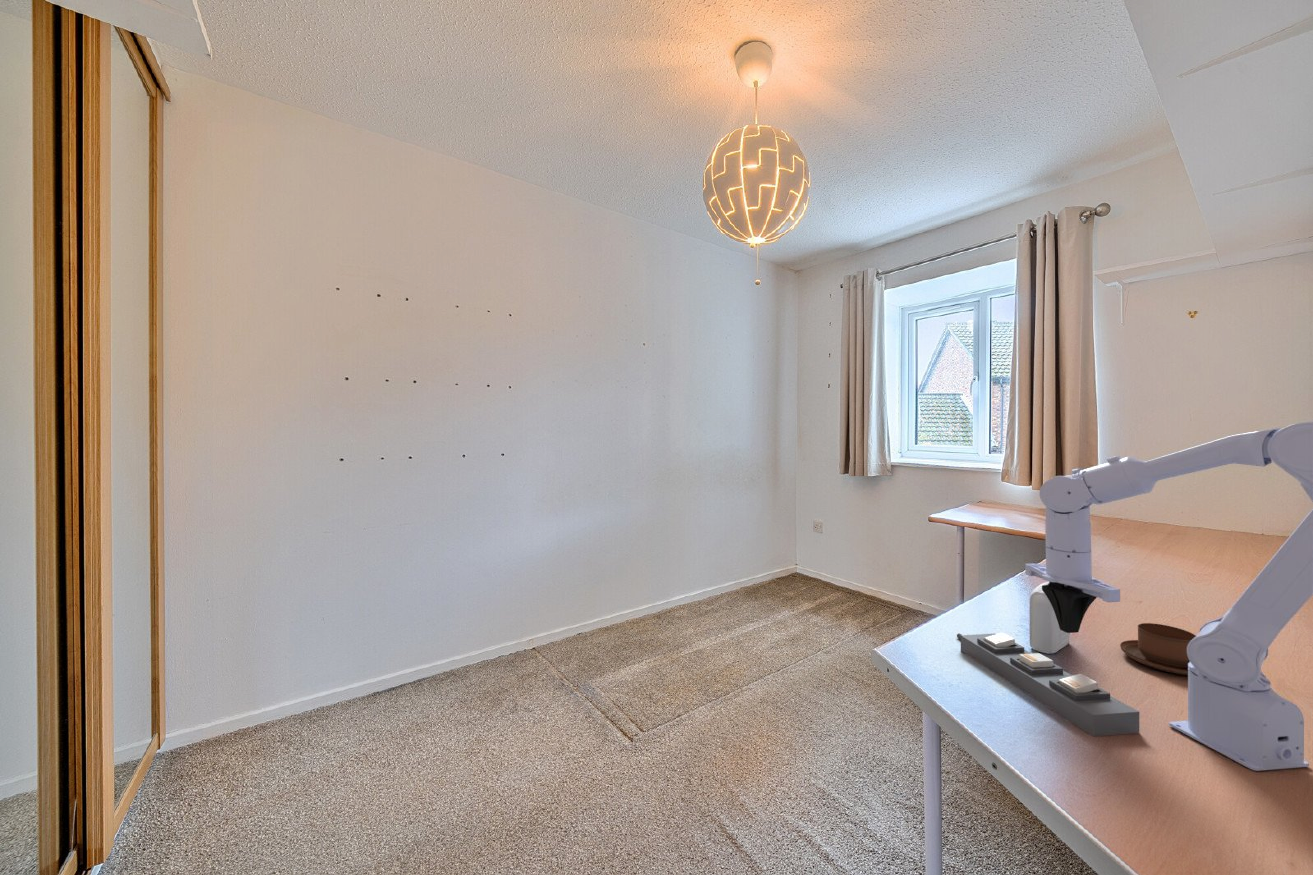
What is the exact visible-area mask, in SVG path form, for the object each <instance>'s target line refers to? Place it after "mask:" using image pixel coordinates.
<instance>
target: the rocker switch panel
mask: <svg viewBox="0 0 1313 875" xmlns="http://www.w3.org/2000/svg"><path fill="white" fill-rule="evenodd" d="M996 634H997V633H995V632H993V633H980V634H979V633H977V634H961V633H957V634H956V638H957V639H959V640H960V652H962V653H963V654H965V655H967V656H968V657H970V658H972V659H973V660H975V661H976V662H977V663H979V664H981V665H982V666H984V667H985V668H987V669H989V670H990V672H993V673H994V674H996V675H998V676H999V677H1000V678H1002V679H1004V680H1006V681H1007V682H1009V683H1010V684H1012V685H1013V686H1015V687H1016V688H1018V689H1019V690H1021V691H1023V692H1024V693H1025V694H1027V695H1029V696H1031V697H1032V698H1033V699H1034V700H1037V701H1038V702H1040V703H1041V704H1042V705H1044V706H1045V707H1047V708H1049V709H1050V710H1052V711H1054V712H1056V714H1058V715H1059V716H1061V717H1063V718H1064V719H1066V720H1068V721H1069V722H1071V723H1072V724H1073V725H1075V726H1077V727H1078V728H1080V729H1082V730H1083V731H1084V732H1086V733H1088V735H1091V736H1092V737H1104V736H1114V735H1116V736H1117V735H1130V734H1139V733H1140V711H1139V710H1138V709H1135V708H1133V707H1131V706H1129V705H1128V704H1126V703H1124V702H1122V701H1120V700H1119V699H1117V698H1115V697H1113V696H1111V693H1110V692H1108V691H1107V690H1105V689H1102V688H1100V687H1099V686H1098V689H1096V690H1093V691H1089V692H1086V693H1075V692H1073V691H1071V690H1069V689H1068V688H1066V687H1064V686H1062V685H1061V684H1060V681H1059V680H1060V679H1063V678H1067V677H1070V676H1073V675H1072V674H1070V673H1068V672H1067V671H1064V668H1063V667H1061V666H1059V665H1057V664H1056V663H1054V662H1053V667H1038V668H1032V667H1030V666H1029V665H1027V664H1025V663H1023V662H1022V661H1020V660H1019V654H1033V653H1032V652H1030V651H1028V650H1026V649H1025V647H1024V646H1023V645H1020V644H1019V643H1016V642H1015V644H1014V645H1010V646H1007V647H995V646H993V645H991V644H989V643H988V642H986V641H985V637H989V636H992V635H996Z"/></svg>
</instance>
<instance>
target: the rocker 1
mask: <svg viewBox="0 0 1313 875" xmlns="http://www.w3.org/2000/svg"><path fill="white" fill-rule="evenodd" d="M995 634H996V635H992V636H989V637H985V641H986V642H988V643H989V644H991V645H993V646H995V647H1007V646H1010V645H1014V644H1015V643H1016V641H1015V638H1014V637H1013V636H1010V635H1009V634H1006V633H1004V632H1000V633H999V632H998V633H995Z"/></svg>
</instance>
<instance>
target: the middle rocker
mask: <svg viewBox="0 0 1313 875" xmlns="http://www.w3.org/2000/svg"><path fill="white" fill-rule="evenodd" d="M1019 660H1020V661H1022V662H1023V663H1025V664H1027V665H1029V666H1030V667H1032V668H1038V667H1053V663H1054V660H1053V659H1051V658H1049V657H1047V656H1045V655H1043V654H1041V652H1040V653H1039V652H1036V653H1035V652H1034V653H1032V654H1019Z"/></svg>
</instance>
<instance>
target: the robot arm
mask: <svg viewBox="0 0 1313 875" xmlns="http://www.w3.org/2000/svg"><path fill="white" fill-rule="evenodd" d="M1106 461H1107V462H1106V463H1105V462H1104V463H1102V464H1097V465H1095V466H1091V467H1088V468H1085V469H1082V468H1081V467H1079V468H1074V469H1071V471H1070V472H1071V474H1068V475H1055V476H1054V477H1052V478H1050V479H1048V480H1046V481H1045V482H1044V483H1043V484H1042V485H1041V486H1040V488H1039V498H1040V500H1041V502H1042V504H1043V505H1044V506H1045V519H1044V523H1045V524H1044V525H1045V526H1044V527H1045V529H1044V530H1045V532H1044V534H1045V535H1044V536H1045V565H1043V564H1038V563H1036V562H1035V563H1025V572H1024V573H1025V575H1027V576H1029V577H1036V578H1040V579H1042V580H1044V581H1045V582H1049V583H1048V585H1043V586H1042V590H1043V592H1044V593H1045V595H1046V596H1047V598H1048V599H1049V601H1050V603H1051V605H1052V607H1053V610H1054V612H1055V615H1056V618H1057V621H1058V624H1059V627H1060V630H1062V631H1064V632H1066V633H1070V634H1071V633H1072V634H1075V633H1079V631H1080V628H1081V624H1082V622H1083V619H1084V616H1085V615H1086V612H1087V610H1088V609H1089V607H1090V606H1092V604H1093V602H1095V600H1096V599H1097V598H1098V599H1101V601H1103V602H1106V603H1120V602H1121V589H1120V588H1118V587H1116V586H1115V587H1114V586H1111V584H1110V585H1109V584H1107V583H1106V582H1103V581H1101V580H1099V579H1097V578H1095V577H1093V572H1092V571H1093V570H1092V566H1093V564H1092V563H1093V562H1092V524H1091V508H1090V507H1091V506H1092V505H1093V504H1095V505H1105V504H1108V503H1112V502H1115V501H1119V500H1120V501H1121V500H1123V499H1124V500H1125V499H1129V498H1131V497H1132V498H1133V497H1136V496H1141V495H1145V494H1148V493H1151V492H1152V491H1153V488H1154V487H1155V485H1156V484H1157V482H1158V481H1162V480H1167V479H1170V478H1176V477H1178V476H1179V477H1180V476H1182V475H1183V476H1184V475H1187V474H1191V473H1196V472H1200V471H1206V470H1209V469H1213V468H1219V467H1221V466H1222V467H1223V466H1228V465H1231V464H1232V465H1233V464H1236V465H1242V466H1243V465H1245V466H1253V467H1261V468H1262V467H1266V466H1268V465H1270V464H1271V465H1272V463H1274V464H1276V465H1277V466H1278V467H1279V468H1281V469H1282V470H1283V471H1284V472H1285V473H1287V474H1288V475H1290V476H1292V477H1293V478H1294V479H1295V480H1297V481H1298V482H1299V483H1300V486H1301V487H1302V489H1303V490H1304V491H1305V493H1306V494H1307V495H1308V497H1309V499H1310V500H1311V501H1312V503H1313V421H1305V422H1298V423H1293V424H1290V425H1288V426H1285V427H1283V428H1281V427H1277V428H1269V429H1263V430H1257V431H1250V432H1245V433H1238V434H1233V435H1229V436H1225V437H1222V438H1218V439H1215V440H1212V441H1209V442H1206V443H1205V442H1204V443H1202V444H1199V445H1196V446H1193V447H1192V446H1191V447H1189V448H1185V449H1182V450H1180V451H1175V452H1173V453H1169V454H1166V455H1162V456H1160V457H1156V458H1152V459H1150V460H1143V459H1139V458H1135V457H1133V456H1126V457H1123V458H1121V456H1120V455H1115V456H1111V457H1109V458H1106ZM1311 597H1313V508H1312V509H1311V510H1310V511H1309V512H1308V514H1307V515H1305V517H1304V518H1303V520H1302V521H1301V522H1300V523H1299V524H1298V525H1297V527H1296V528H1295V530H1293V532H1292V533H1291V534H1290V535H1289V537H1288V538H1287V539H1286V540H1285V542H1283V544H1282V545H1281V546H1280V548H1279V549H1278V550H1277V551H1276V552H1275V554H1273V556H1272V557H1271V558H1270V559H1269V561H1268V562H1267V563H1266V565H1264V567H1263V568H1262V569H1261V570H1260V572H1259V573H1258V574H1257V575H1256V576H1255V577H1254V579H1253V580H1252V581H1251V583H1250V584H1249V585H1248V586H1247V588H1246V589H1244V591H1243V593H1242V594H1240V596H1239V597H1238V598H1237V600H1236V601H1235V602H1234V603H1233V604H1232V606H1230V608H1229V609H1228V610H1227V611H1226V612H1225V613H1224V614H1223V615H1222V616H1220V617H1219V618H1216V619H1212V620H1209V621H1206V622H1205V623H1204V624H1202V625H1201V627H1200V628H1199V631H1198V633H1197V635H1196V637H1194V638H1193V639H1192V640H1191V641H1190V642H1189V644H1188V646H1187V656H1188V659H1189V660H1190V662H1189V663H1188V675H1187V720H1176V721H1169V722H1168V725H1169V726H1170V727H1171V728H1173V729H1175V730H1177V731H1179V732H1181V733H1182V734H1184V735H1186V736H1188V737H1190V738H1192V739H1193V740H1195V741H1198V742H1199V743H1201V744H1203V745H1205V746H1206V747H1209V749H1210V748H1211V749H1213V750H1214V751H1216V752H1218V753H1220V754H1222V755H1224V756H1225V757H1227V758H1229V759H1231V760H1233V761H1235V762H1236V763H1239V764H1240V765H1243V766H1244V767H1246V768H1248V769H1250V770H1252V771H1254V772H1255V771H1256V772H1257V771H1259V772H1260V771H1269V770H1272V771H1273V770H1282V769H1285V770H1286V769H1296V768H1307V767H1310V763H1309V762H1308V761H1307V760H1305V753H1304V752H1305V750H1304V749H1305V719H1304V714H1303V712H1302V710H1301V709H1300V707H1299V706H1298V705H1297V704H1295V703H1294V702H1292V701H1290V700H1288V699H1286V698H1285V697H1282V695H1280V694H1278V693H1277V692H1275V691H1274V689H1273V688H1272V687H1271V681H1270V679H1269V678H1267V677H1266V675H1265V674H1264V673H1263V671H1262V666H1263V663H1264V662H1265V660H1266V659H1267V658H1268V656H1269V652H1270V650H1269V648H1270V646H1271V645H1272V643H1273V642H1274V641H1275V639H1276V638H1277V637H1278V636H1279V634H1280V632H1281V631H1282V630H1283V629H1284V628H1285V626H1287V624H1288V623H1289V622H1290V621H1291V620H1292V618H1294V616H1295V615H1296V614H1297V613H1299V611H1300V610H1301V609H1302V607H1303V606H1304V605H1305V604H1306V603H1307V602H1308V601H1309V600H1310V599H1311Z"/></svg>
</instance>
